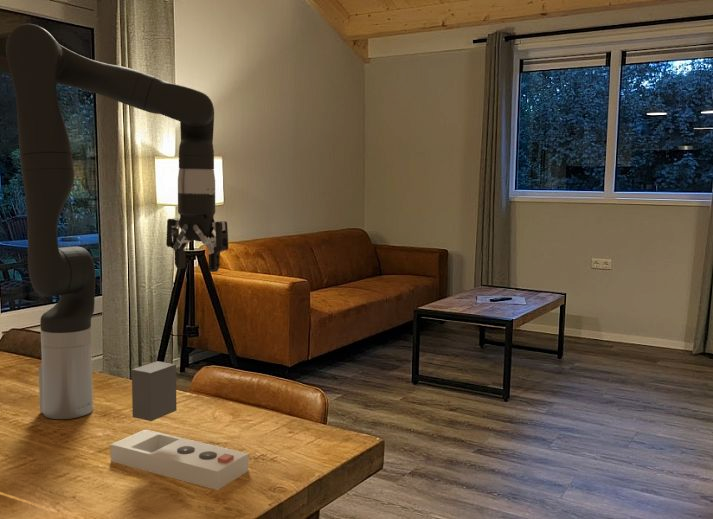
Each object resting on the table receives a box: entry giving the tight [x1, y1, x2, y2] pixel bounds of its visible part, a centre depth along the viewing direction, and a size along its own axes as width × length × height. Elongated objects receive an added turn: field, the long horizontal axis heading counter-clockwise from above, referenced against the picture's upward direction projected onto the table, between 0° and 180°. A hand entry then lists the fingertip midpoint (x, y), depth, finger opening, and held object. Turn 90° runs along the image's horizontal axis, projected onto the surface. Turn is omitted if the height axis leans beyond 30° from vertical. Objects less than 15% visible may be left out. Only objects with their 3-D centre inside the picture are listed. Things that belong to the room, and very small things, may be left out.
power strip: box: [110, 429, 249, 491], centre depth 114 cm, size 23×8×4 cm, turn 64°
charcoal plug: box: [131, 360, 178, 422], centre depth 115 cm, size 4×6×8 cm, turn 153°
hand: (197, 269), depth 144 cm, fingers open, 8 cm apart
